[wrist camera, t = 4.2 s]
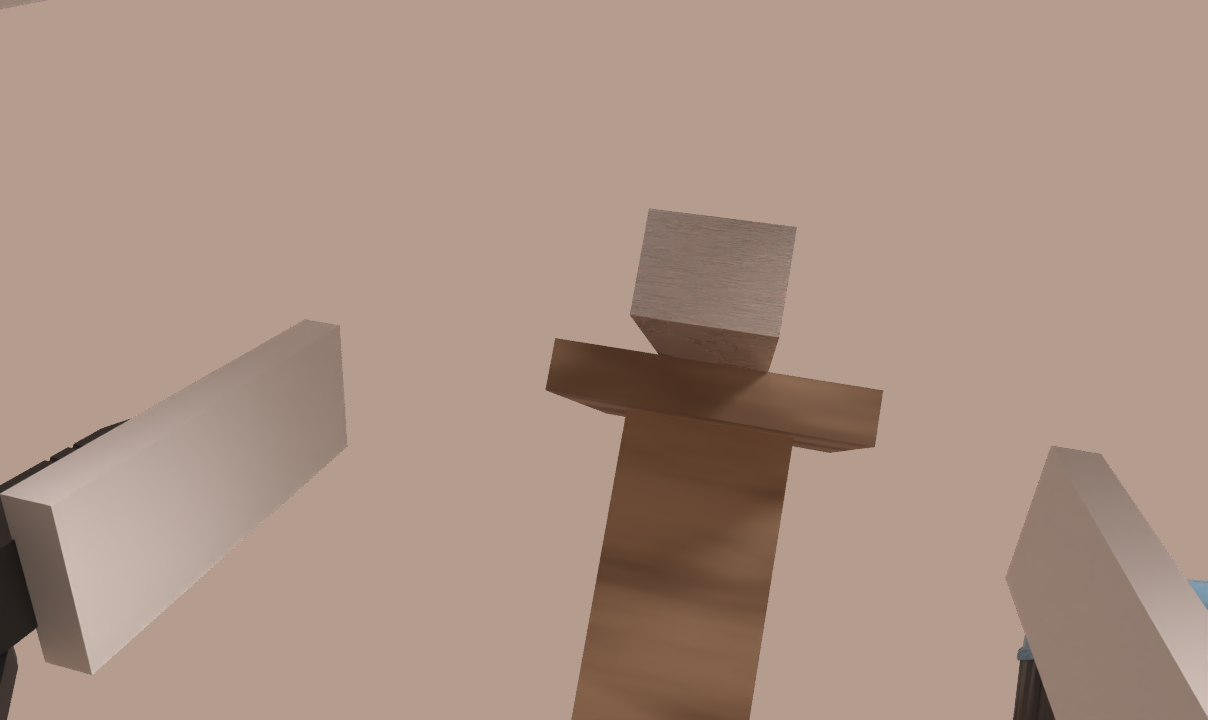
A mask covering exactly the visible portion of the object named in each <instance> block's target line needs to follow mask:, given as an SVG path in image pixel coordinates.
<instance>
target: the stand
mask: <svg viewBox="0 0 1208 720" xmlns="http://www.w3.org/2000/svg"><path fill="white" fill-rule="evenodd" d="M546 390H547V391H549V392H552V393H555V394H557V395H560V396H562V397H565V398H568V399H570V400H573V401H576V402H578V403H581V404H583V405H586V406H589V407H591V408H594V409H597V410H599V411H602V412H604V413H607V414H613V415H618V416H624V417H625V423H624V429H623V434H622V439H621V445H620V451H619V456H618V462H617V468H616V473H615V479H614V484H613V490H612V495H611V501H610V507H609V512H608V518H607V524H606V529H605V535H604V541H603V546H602V552H601V557H600V563H599V569H598V574H597V580H596V585H595V591H594V597H593V602H592V608H591V614H590V619H589V625H588V630H587V636H586V641H585V647H584V652H583V658H582V664H581V670H580V675H579V681H578V686H577V692H576V697H575V703H574V708H573V714H572V720H749V718H750V711H751V705H752V699H753V693H754V686H755V680H756V673H757V667H758V661H759V654H760V648H761V641H762V635H763V629H764V622H765V616H766V610H767V603H768V597H769V590H770V584H771V578H772V571H773V564H774V558H775V552H776V545H777V539H778V533H779V527H780V520H781V513H782V508H783V501H784V495H785V488H786V482H787V475H788V469H789V463H790V457H791V450H792V446H795V447H801V448H806V449H812V450H818V451H823V452H829V453H831V452H839V451H847V450H854V449H862V448H870V447H875V441H876V435H877V427H878V421H879V414H880V407H881V400H882V393H883V390H876V389H870V388H864V387H857V386H851V385H845V384H839V383H833V382H826V381H819V380H814V379H807V378H801V377H795V376H789V375H783V374H776V373H770V372H764V371H758V370H751V369H745V368H739V367H732V366H726V365H720V364H714V363H707V362H701V361H695V360H689V359H682V358H676V357H670V356H664V355H657V354H651V353H645V352H639V351H632V350H626V349H619V348H613V347H607V346H601V345H595V344H588V343H582V342H575V341H569V340H563V339H557V338H556V339H555V343H554V348H553V354H552V359H551V364H550V369H549V374H548V380H547V385H546Z"/></svg>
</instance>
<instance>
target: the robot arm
mask: <svg viewBox="0 0 1208 720" xmlns="http://www.w3.org/2000/svg"><path fill="white" fill-rule="evenodd" d="M40 1H45V0H0V9H4V8H9V7H14V6H20V5H24V4H29V3H35V2H40ZM346 447H347V435H346V419H345V403H344V388H343V372H342V356H341V340H340V326H339V325H334V324H328V323H322V322H316V321H310V320H303V321H302V322H300V323H298V324H296V325H295V326H293V327H291V328H289V329H288V330H286V331H284V332H282V333H281V334H279V335H277V336H275V337H274V338H272V339H270V340H268V341H267V342H265V343H263V344H261V345H260V346H258V347H256V348H254V349H253V350H251V351H249V352H247V353H246V354H244V355H242V356H240V357H239V358H237V359H235V360H233V361H232V362H230V363H228V364H227V365H225V366H223V367H221V368H219V369H218V370H216V371H214V372H212V373H210V374H209V375H207V376H205V377H203V378H202V379H200V380H198V381H197V382H195V383H193V384H191V385H189V386H188V387H186V388H184V389H183V390H181V391H179V392H177V393H175V394H174V395H172V396H171V397H168V398H167V399H165V400H163V401H162V402H160V403H158V404H156V405H154V406H153V407H151V408H149V409H148V410H146V411H144V412H142V413H140V414H139V415H137V416H135V417H133V418H132V419H129V420H126V421H123V422H120V423H117V424H113V425H110V426H107V427H104V428H102V429H100V430H98V431H96V432H94V433H93V434H91V435H89V436H88V437H85V438H84V439H82V440H80V441H78V442H77V443H75V444H74V445H73V448H69V447H68V448H66V449H64V450H62V451H61V452H59V453H57V454H55V455H53V456H52V457H51V458H50V461H43V462H41V463H39V464H37V465H36V466H34V467H32V468H30V469H28V470H27V471H25V472H23V473H21V474H19V475H18V476H16V477H14V478H13V479H11V480H9V481H7V482H5V483H3V484H2V485H0V720H7V717H8V712H9V707H10V703H11V698H12V693H13V688H14V684H15V679H16V674H17V670H18V664H17V657H16V653H15V650H14V647H13V646H14V645H15V644H16V643H18V642H19V641H20V640H21V639H23V638H24V637H25V636H27V635H28V634H29V633H30V632H32V631H33V630H34V629H35V628H36V630H37V633H38V637H39V640H40V644H41V648H42V652H43V655H44V659H45V662H47V663H51V664H54V665H58V666H62V667H65V668H69V669H72V670H76V671H80V672H83V673H87V674H90V675H93V674H94V673H95V672H96V671H97V670H98V669H99V668H100V667H102V666H103V665H104V664H105V663H106V662H107V661H108V660H109V659H110V658H112V657H113V656H114V655H115V654H116V653H117V652H118V651H119V650H121V649H122V648H123V647H124V646H125V645H126V644H127V643H128V642H130V641H131V640H132V639H133V638H134V637H135V636H136V635H137V634H138V633H140V632H141V631H142V630H143V629H144V628H145V627H146V626H147V625H148V624H150V623H151V622H152V621H153V620H154V619H155V618H156V617H157V616H159V615H160V614H161V613H162V612H163V611H164V610H165V609H166V608H168V607H169V606H170V605H171V604H172V603H173V602H174V601H175V600H176V599H178V598H179V597H180V596H181V595H182V594H183V593H184V592H185V591H186V590H188V589H189V588H190V587H191V586H192V585H193V584H194V583H195V582H197V581H198V580H199V579H200V578H201V577H202V576H203V575H204V574H205V573H207V572H208V571H209V570H210V569H211V568H212V567H213V566H214V565H215V564H217V563H218V562H219V561H220V560H221V559H222V558H223V557H224V556H226V555H227V554H228V553H229V552H230V551H231V550H232V549H233V548H234V547H236V546H237V545H238V544H239V543H240V542H241V541H242V540H243V539H245V538H246V537H247V536H248V535H249V534H250V533H251V532H252V531H253V530H255V529H256V528H257V527H258V526H259V525H260V524H261V523H262V522H263V521H265V520H266V519H267V518H268V517H269V516H270V515H271V514H272V513H274V512H275V511H276V510H277V509H278V508H279V507H280V506H281V505H282V504H284V503H285V502H286V501H287V500H288V499H289V498H290V497H291V496H293V495H294V494H295V493H296V492H297V491H298V490H299V489H300V488H301V487H303V486H304V485H305V484H306V483H307V482H308V481H309V480H310V479H311V478H313V477H314V476H315V475H316V474H317V473H318V472H319V471H320V470H321V469H323V468H324V467H325V466H326V465H327V464H328V463H329V462H330V461H332V459H334V458H335V457H336V456H337V455H338V454H339V453H340V452H342V451H343V450H344V449H345V448H346ZM1006 581H1007V584H1008V586H1009V589H1010V592H1011V595H1012V598H1013V601H1014V604H1015V606H1016V609H1017V612H1018V615H1019V618H1020V621H1021V623H1022V626H1023V629H1024V632H1025V638H1024V643H1023V647H1022V648H1020V649H1019V650H1018V655H1017V659H1018V660H1020V667H1019V675H1018V683H1017V692H1016V700H1015V709H1014V717H1013V720H1208V581H1201V580H1191V579H1186V578H1185V576H1184V575H1183V574H1182V572H1181V571H1180V569H1179V568H1178V566H1177V565H1176V563H1175V562H1174V560H1173V559H1172V557H1171V556H1170V555H1169V553H1168V552H1167V550H1166V549H1165V547H1164V546H1163V544H1162V543H1161V541H1160V540H1159V538H1158V537H1157V536H1156V534H1155V532H1154V531H1153V530H1152V528H1151V527H1150V525H1149V524H1148V522H1147V521H1146V519H1145V518H1144V516H1143V515H1142V514H1141V512H1140V510H1139V509H1138V508H1137V506H1136V505H1135V503H1134V502H1133V500H1132V499H1131V497H1130V496H1129V494H1128V493H1127V491H1126V490H1125V489H1124V487H1123V486H1122V484H1121V483H1120V482H1119V480H1118V478H1117V477H1116V475H1115V474H1114V473H1113V471H1112V469H1111V468H1110V467H1109V465H1108V464H1107V462H1106V461H1105V459H1104V458H1103V456H1102V455H1101V454H1098V453H1091V452H1086V451H1080V450H1074V449H1068V448H1062V447H1056V446H1051V448H1050V451H1049V453H1048V457H1047V459H1046V462H1045V465H1044V468H1043V471H1042V474H1041V477H1040V480H1039V482H1038V485H1037V488H1036V491H1035V494H1034V497H1033V500H1032V503H1031V506H1030V509H1029V511H1028V515H1027V517H1026V520H1025V523H1024V526H1023V529H1022V532H1021V535H1020V537H1019V540H1018V543H1017V546H1016V549H1015V552H1014V555H1013V558H1012V561H1011V564H1010V566H1009V569H1008V572H1007V575H1006Z"/></svg>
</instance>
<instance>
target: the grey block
mask: <svg viewBox="0 0 1208 720" xmlns="http://www.w3.org/2000/svg"><path fill="white" fill-rule="evenodd" d="M796 229H797V227H792V226H784V225H776V224H767V223H760V222H752V221H743V220H736V219H728V218H720V217H712V216H704V215H696V214H688V213H679V212H672V211H663V210H656V209H649V212H648V217H647V223H646V229H645V234H644V240H643V245H642V251H641V256H640V262H639V267H638V273H637V278H636V284H635V290H634V295H633V301H632V306H631V312H630V316H631V317H632V318H633V320H634V321H635V323H636V324H637V325H638V327H639V328H640V329H641V331H642V332H643V333H644V335H645V336H646V338H647V339H648V340H649V342H650V343H651V344H652V346H653V347H654V349H655V350H656V351H657V353H658V354H659V355H664V356H670V357H676V358H682V359H689V360H695V361H701V362H707V363H714V364H720V365H726V366H732V367H739V368H745V369H751V370H758V371H764V372H768V370H769V367H770V364H771V361H772V358H773V355H774V352H775V348H776V346H777V342H778V339H779V335H780V329H781V322H782V316H783V310H784V304H785V297H786V291H787V285H788V279H789V273H790V266H791V260H792V254H793V248H794V241H795V234H796Z"/></svg>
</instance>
